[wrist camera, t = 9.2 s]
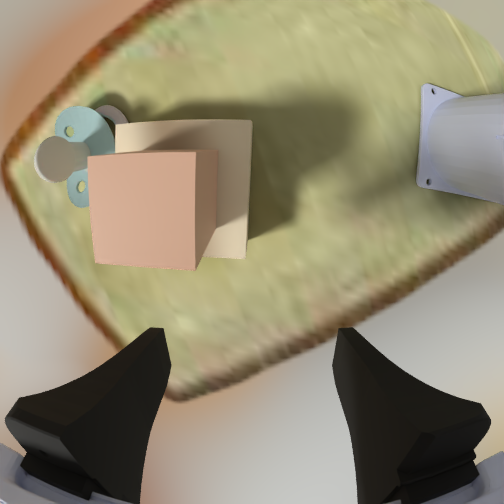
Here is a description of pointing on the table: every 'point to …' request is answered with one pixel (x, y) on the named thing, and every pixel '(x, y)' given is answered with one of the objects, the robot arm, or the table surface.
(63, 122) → the pacifier
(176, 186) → the terracotta block
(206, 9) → the table surface
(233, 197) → the birch block
